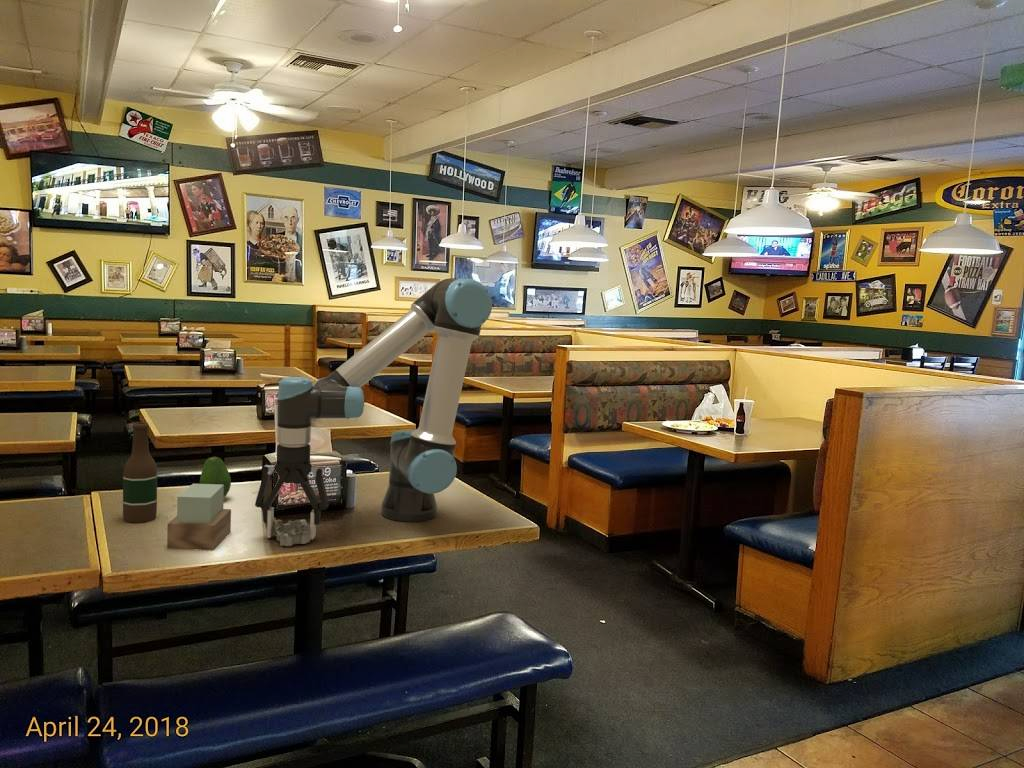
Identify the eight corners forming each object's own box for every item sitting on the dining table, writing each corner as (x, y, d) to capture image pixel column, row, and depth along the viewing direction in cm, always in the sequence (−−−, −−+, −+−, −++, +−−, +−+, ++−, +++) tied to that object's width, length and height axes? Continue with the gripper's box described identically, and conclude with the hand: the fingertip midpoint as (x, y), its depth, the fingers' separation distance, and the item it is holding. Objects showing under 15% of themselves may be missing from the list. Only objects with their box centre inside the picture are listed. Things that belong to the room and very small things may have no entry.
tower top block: (223, 509, 171) (223, 484, 170) (210, 523, 160) (210, 497, 159) (192, 508, 170) (192, 483, 169) (177, 523, 159) (177, 496, 159)
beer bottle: (151, 511, 183) (152, 419, 180) (162, 520, 177) (163, 424, 174) (117, 516, 177) (118, 421, 174) (128, 525, 172) (128, 427, 169)
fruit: (198, 497, 198) (198, 454, 196) (228, 495, 201) (229, 453, 200) (200, 505, 191) (201, 461, 189) (232, 503, 194) (233, 459, 193)
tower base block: (230, 533, 172) (231, 509, 171) (213, 551, 160) (214, 525, 159) (187, 531, 171) (187, 507, 170) (167, 549, 159) (167, 523, 159)
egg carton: (271, 533, 173) (271, 516, 172) (303, 530, 176) (303, 514, 176) (279, 548, 164) (279, 530, 163) (312, 544, 167) (312, 527, 166)
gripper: (344, 442, 172) (341, 533, 175) (250, 438, 170) (249, 529, 173) (338, 449, 164) (335, 543, 167) (240, 444, 163) (239, 540, 166)
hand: (291, 536), depth 170 cm, fingers closed on egg carton, 9 cm apart
